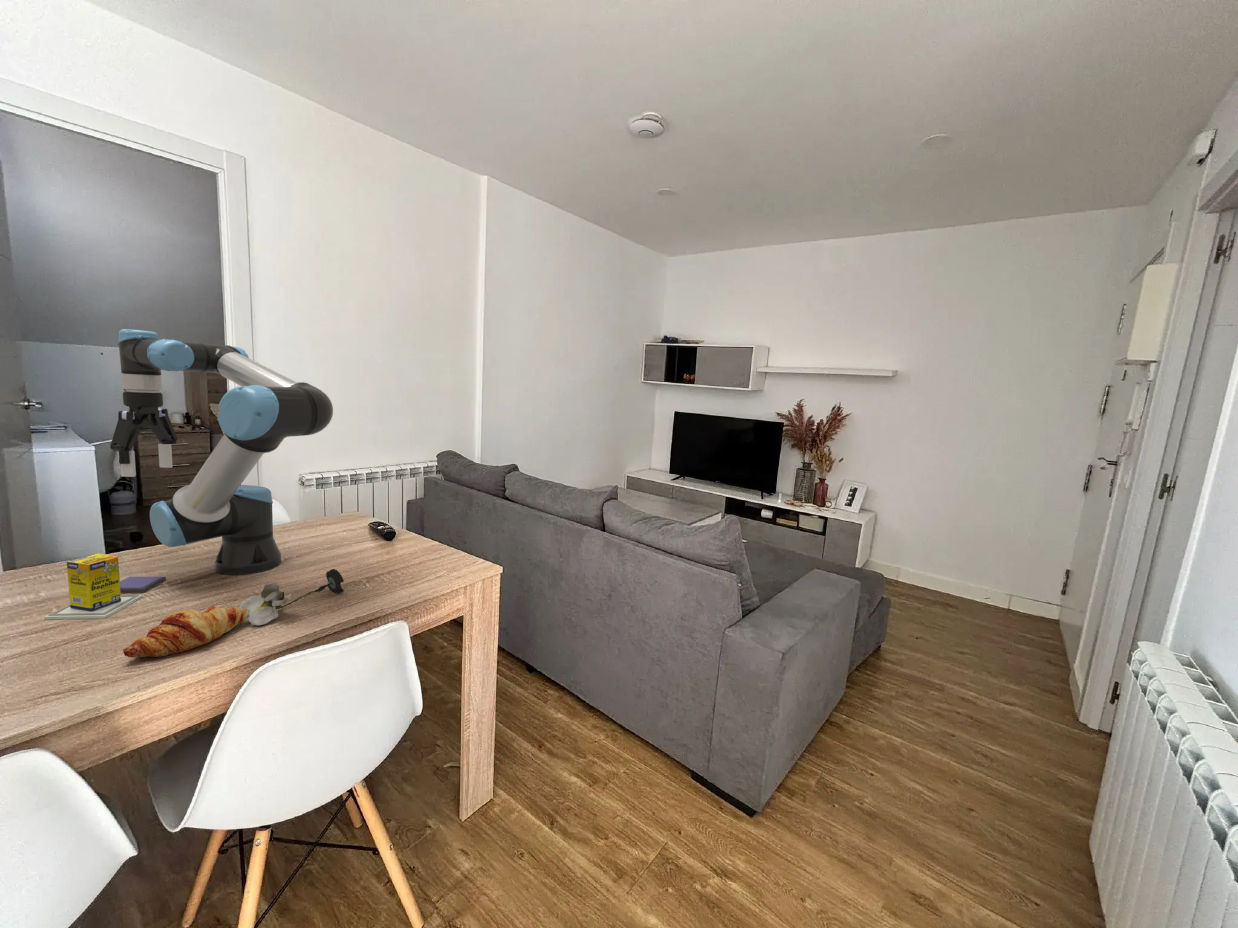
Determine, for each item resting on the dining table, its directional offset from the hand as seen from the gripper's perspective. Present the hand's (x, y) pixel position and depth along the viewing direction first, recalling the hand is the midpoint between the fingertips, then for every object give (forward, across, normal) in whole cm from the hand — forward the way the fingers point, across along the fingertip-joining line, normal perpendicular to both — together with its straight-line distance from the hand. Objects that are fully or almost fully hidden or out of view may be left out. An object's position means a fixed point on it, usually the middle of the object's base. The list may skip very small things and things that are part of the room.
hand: (148, 471), depth 132 cm
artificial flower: (+27, +26, +46) cm, 59 cm away
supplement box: (+26, +25, +4) cm, 36 cm away
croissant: (+27, +42, +33) cm, 59 cm away
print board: (+27, +25, +4) cm, 37 cm away
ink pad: (+27, +13, +4) cm, 30 cm away
